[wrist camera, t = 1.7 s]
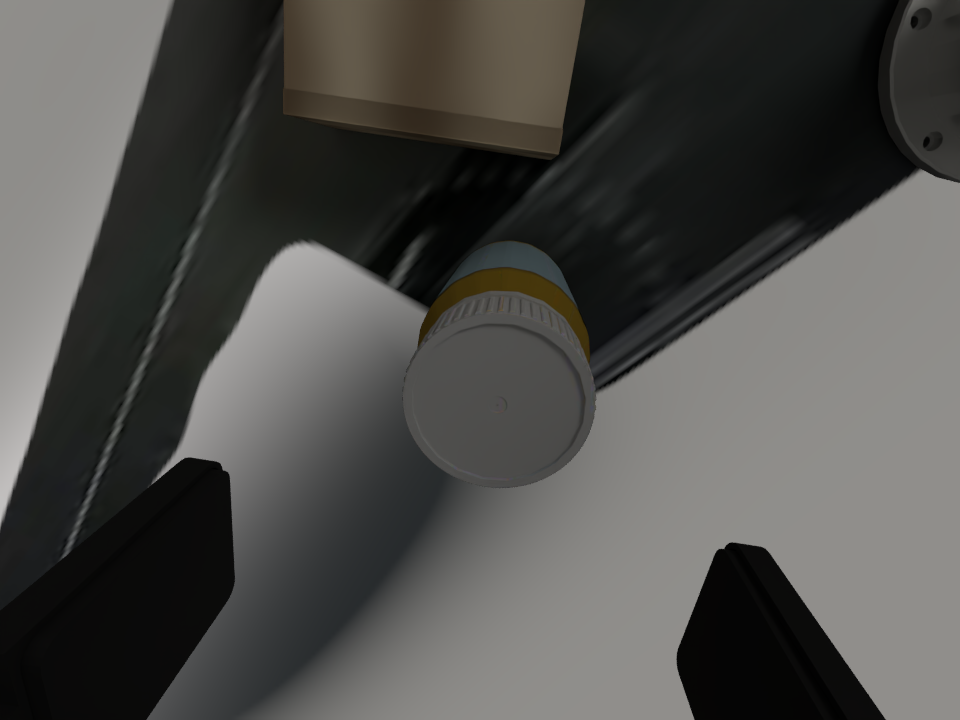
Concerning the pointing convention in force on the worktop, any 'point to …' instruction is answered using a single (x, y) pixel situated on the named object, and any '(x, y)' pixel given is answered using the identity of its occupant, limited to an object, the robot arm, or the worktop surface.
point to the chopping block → (435, 69)
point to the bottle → (501, 371)
